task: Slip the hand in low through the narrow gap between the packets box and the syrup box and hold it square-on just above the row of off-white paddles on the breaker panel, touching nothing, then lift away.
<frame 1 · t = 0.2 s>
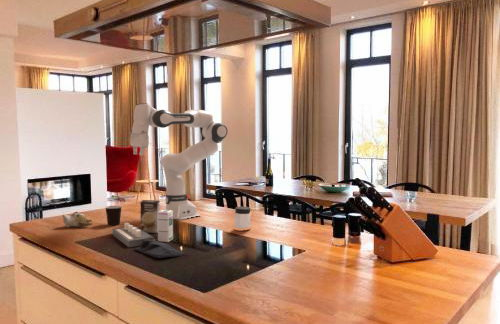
hand: (138, 154, 238), 39 cm above the worktop, fingers open, 8 cm apart
jar: (242, 229, 225), on the worktop
coffee mug: (114, 224, 234), on the worktop
syrup box: (165, 240, 201), on the worktop
coffee box: (149, 231, 219), on the worktop
dark slate chunk: (159, 253, 182), on the worktop
ceramic sculpture: (77, 227, 227), on the worktop
breaker panel: (132, 239, 202), on the worktop
breaker paddles: (132, 229, 202), point 5 cm above the worktop, hinge at 0.0°
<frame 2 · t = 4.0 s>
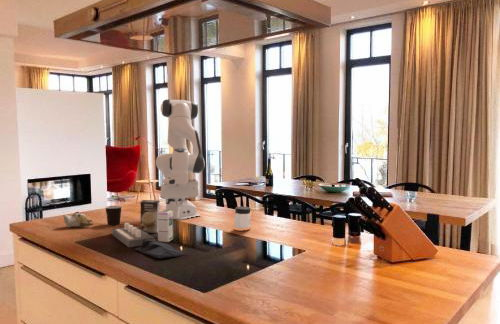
hand: (179, 206, 215), 14 cm above the worktop, fingers closed
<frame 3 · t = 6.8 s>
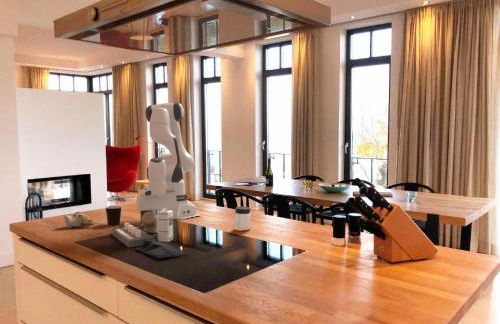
hand: (157, 217, 209), 9 cm above the worktop, fingers closed
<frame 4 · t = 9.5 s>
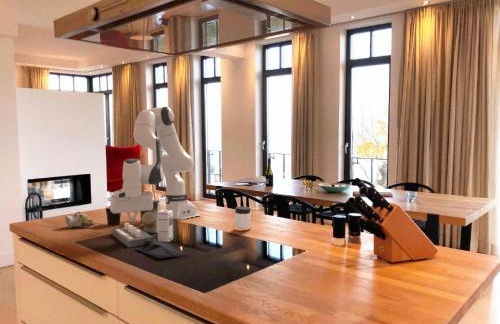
hand: (132, 220, 201), 9 cm above the worktop, fingers closed
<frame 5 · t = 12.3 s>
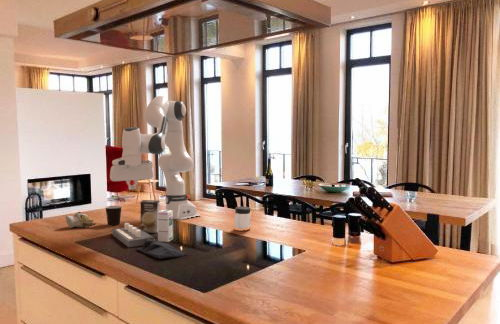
hand: (132, 189, 200), 25 cm above the worktop, fingers closed
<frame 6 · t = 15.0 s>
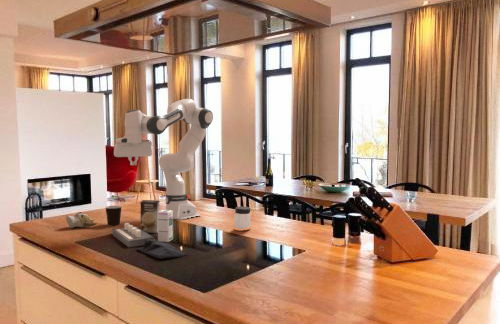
hand: (133, 165, 225), 34 cm above the worktop, fingers closed
at the end: syrup box moved 0.2 cm from its start; coffee box moved 0.2 cm from its start; breaker paddles at +0° (first picture: +0°) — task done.
